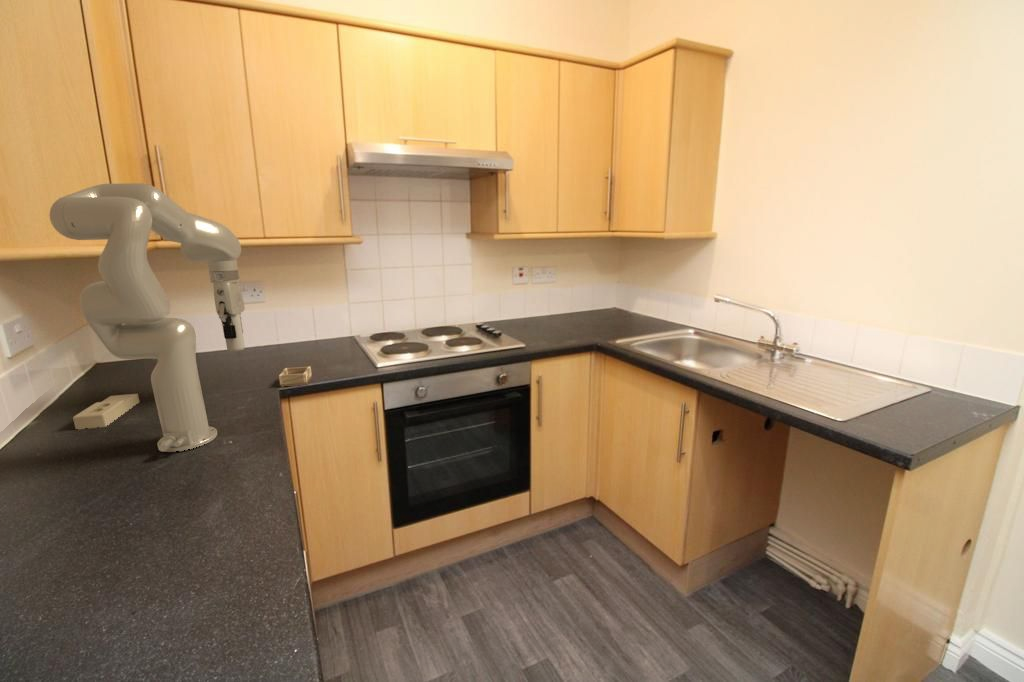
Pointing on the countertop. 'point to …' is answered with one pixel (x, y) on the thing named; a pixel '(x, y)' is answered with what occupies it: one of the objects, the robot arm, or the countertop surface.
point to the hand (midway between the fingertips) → (234, 335)
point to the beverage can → (237, 342)
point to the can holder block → (295, 376)
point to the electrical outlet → (105, 411)
